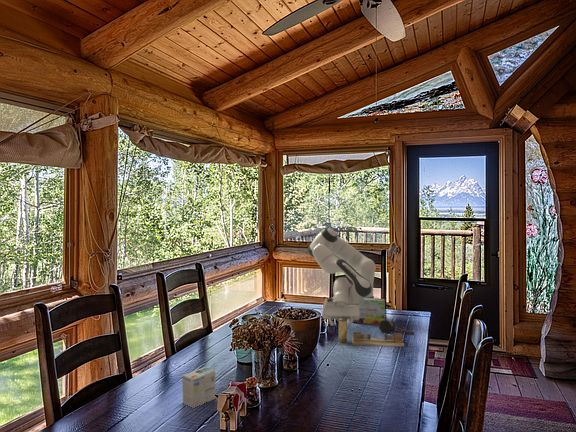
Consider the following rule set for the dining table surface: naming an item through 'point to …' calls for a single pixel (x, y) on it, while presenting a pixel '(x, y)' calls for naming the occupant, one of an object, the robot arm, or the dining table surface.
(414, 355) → the dining table surface
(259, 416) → the dining table surface
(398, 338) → the shaft rig
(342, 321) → the coupler
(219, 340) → the dining table surface
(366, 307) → the snack box
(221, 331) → the dining table surface
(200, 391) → the light bulb box
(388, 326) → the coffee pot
